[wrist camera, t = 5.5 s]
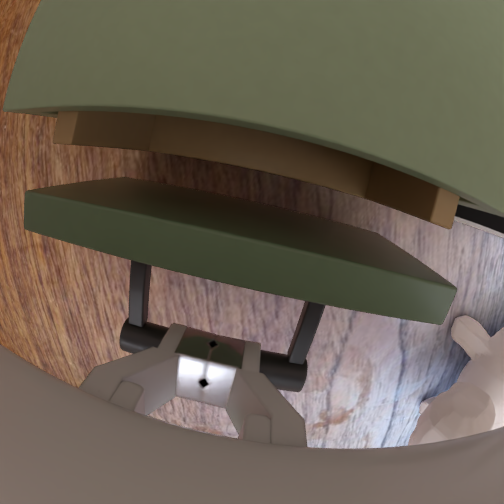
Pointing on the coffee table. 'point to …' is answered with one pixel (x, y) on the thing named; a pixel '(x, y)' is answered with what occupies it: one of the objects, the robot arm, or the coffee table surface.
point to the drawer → (245, 227)
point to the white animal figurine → (467, 390)
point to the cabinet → (290, 75)
